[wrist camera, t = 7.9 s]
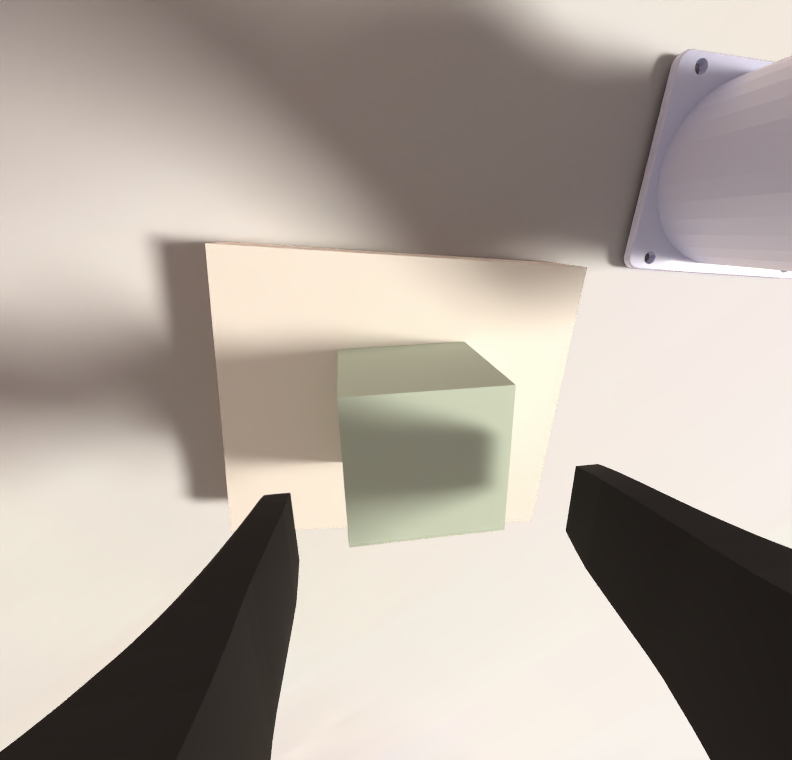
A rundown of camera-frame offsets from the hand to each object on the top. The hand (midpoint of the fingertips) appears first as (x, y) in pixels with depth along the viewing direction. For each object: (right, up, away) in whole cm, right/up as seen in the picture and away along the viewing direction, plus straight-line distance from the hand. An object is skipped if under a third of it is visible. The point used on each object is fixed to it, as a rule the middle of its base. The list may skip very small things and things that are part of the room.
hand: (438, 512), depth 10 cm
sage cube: (-1, +2, +7) cm, 7 cm away
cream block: (-1, +3, +9) cm, 10 cm away
